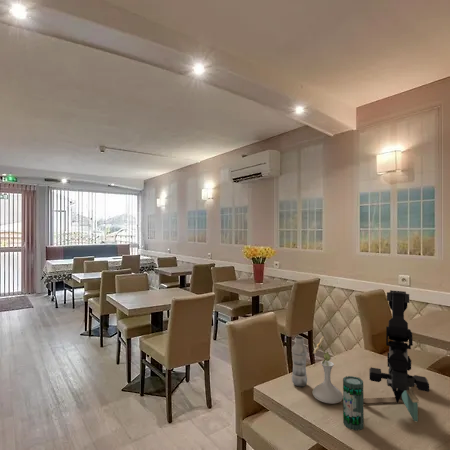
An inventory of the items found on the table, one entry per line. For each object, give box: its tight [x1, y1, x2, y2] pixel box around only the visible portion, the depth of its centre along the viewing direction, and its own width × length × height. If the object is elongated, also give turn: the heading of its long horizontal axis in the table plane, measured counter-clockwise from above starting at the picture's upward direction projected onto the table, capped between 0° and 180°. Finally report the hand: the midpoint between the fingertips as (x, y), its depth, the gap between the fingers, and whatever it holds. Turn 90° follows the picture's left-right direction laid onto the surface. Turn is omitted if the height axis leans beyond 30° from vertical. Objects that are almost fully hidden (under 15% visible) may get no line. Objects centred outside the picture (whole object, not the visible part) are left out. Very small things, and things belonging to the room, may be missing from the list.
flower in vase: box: [311, 335, 343, 404], centre depth 123 cm, size 13×11×25 cm
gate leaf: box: [402, 387, 420, 423], centre depth 114 cm, size 15×2×7 cm, turn 165°
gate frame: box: [356, 376, 404, 406], centre depth 122 cm, size 19×3×9 cm, turn 94°
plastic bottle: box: [291, 335, 308, 388], centre depth 135 cm, size 6×7×20 cm
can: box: [342, 375, 365, 431], centre depth 108 cm, size 6×6×15 cm
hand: (397, 402), depth 115 cm, fingers closed
